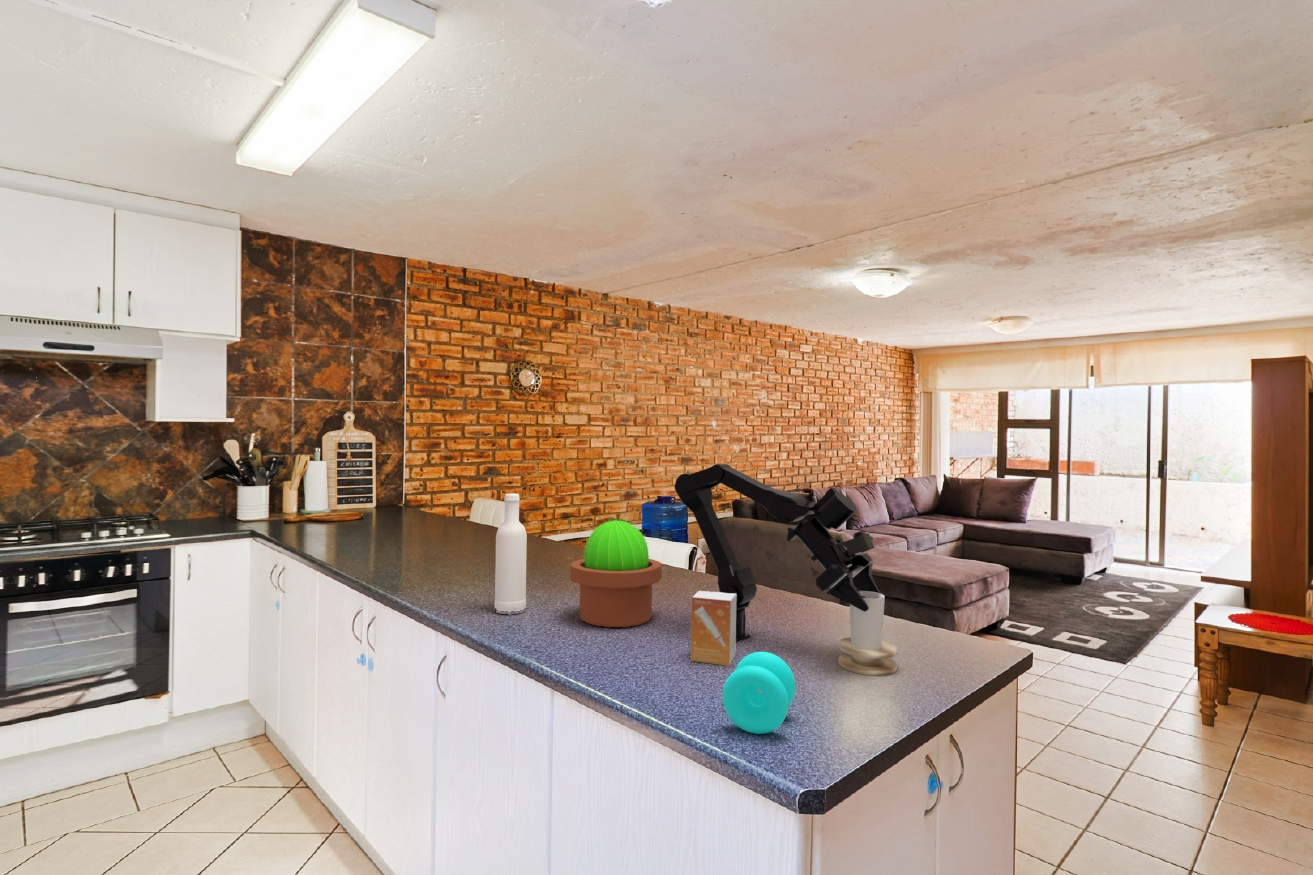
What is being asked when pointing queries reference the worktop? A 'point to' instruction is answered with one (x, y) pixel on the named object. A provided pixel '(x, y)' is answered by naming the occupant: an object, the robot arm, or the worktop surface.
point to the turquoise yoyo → (748, 702)
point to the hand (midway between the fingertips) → (874, 605)
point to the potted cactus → (616, 576)
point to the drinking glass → (868, 622)
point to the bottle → (511, 559)
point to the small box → (713, 627)
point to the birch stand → (868, 659)
